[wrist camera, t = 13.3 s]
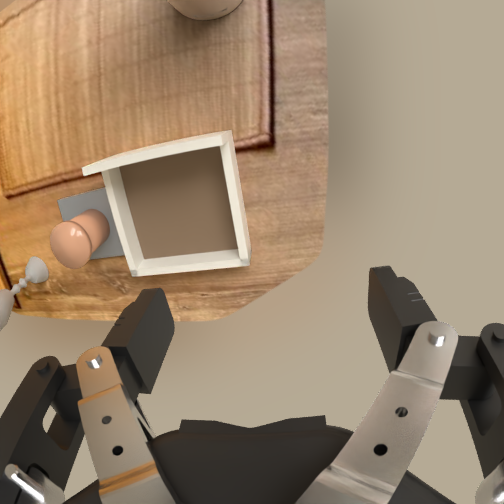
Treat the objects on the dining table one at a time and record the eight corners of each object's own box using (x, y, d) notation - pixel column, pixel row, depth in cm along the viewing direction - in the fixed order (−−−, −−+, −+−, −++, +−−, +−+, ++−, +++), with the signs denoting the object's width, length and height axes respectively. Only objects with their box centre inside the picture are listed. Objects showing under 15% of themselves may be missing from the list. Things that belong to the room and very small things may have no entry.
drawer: (113, 155, 37) (81, 167, 30) (231, 129, 36) (221, 135, 28) (142, 263, 44) (120, 292, 37) (251, 251, 42) (247, 282, 35)
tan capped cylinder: (71, 210, 40) (44, 227, 34) (105, 202, 39) (78, 219, 33) (84, 249, 43) (60, 271, 36) (117, 243, 42) (94, 266, 36)
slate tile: (60, 198, 40) (57, 200, 40) (113, 184, 39) (110, 186, 38) (80, 258, 45) (77, 261, 44) (132, 251, 43) (130, 254, 43)
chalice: (33, 243, 44) (-36, 299, 28) (58, 271, 46) (-5, 336, 30) (20, 266, 47) (-40, 321, 30) (43, 292, 49) (-13, 354, 32)
